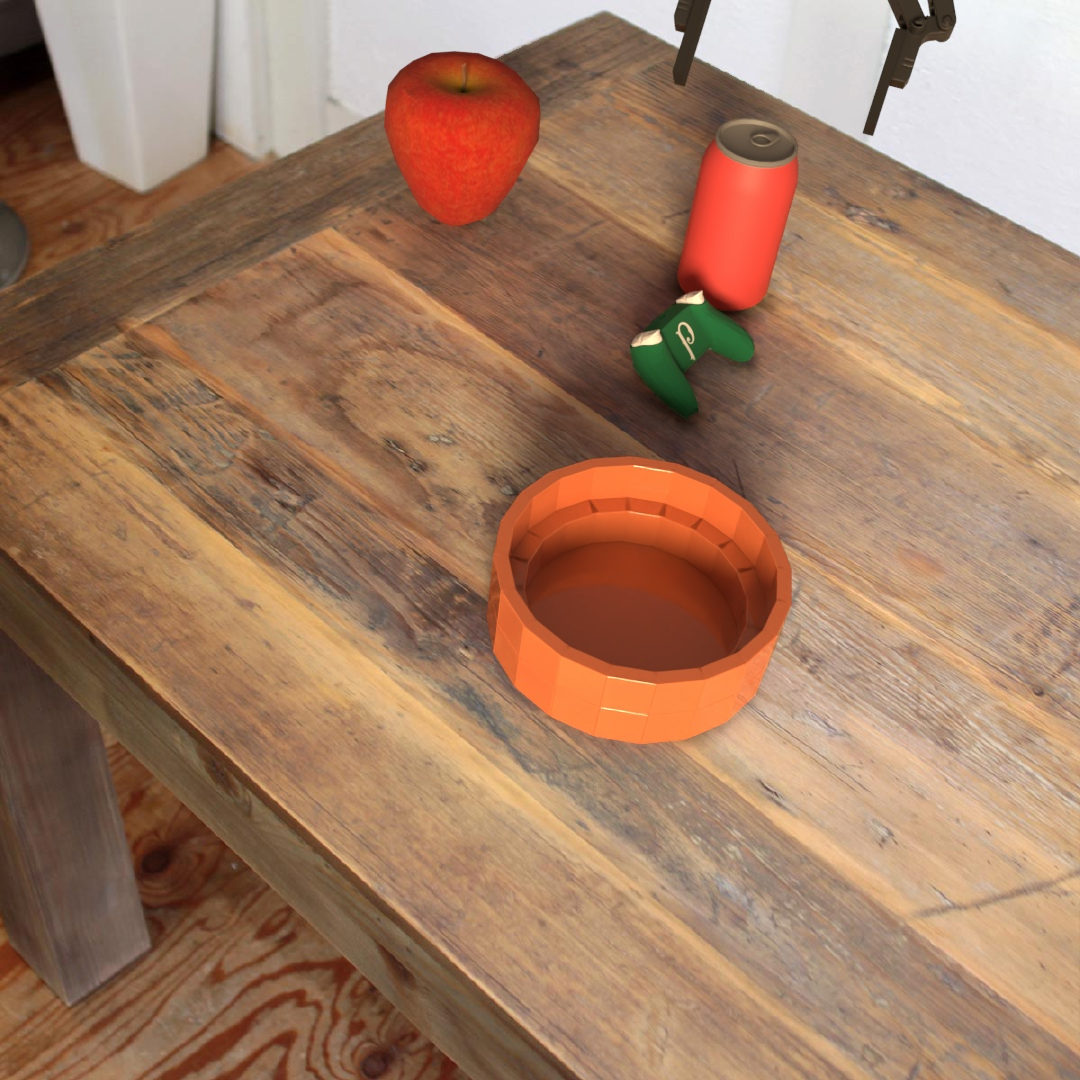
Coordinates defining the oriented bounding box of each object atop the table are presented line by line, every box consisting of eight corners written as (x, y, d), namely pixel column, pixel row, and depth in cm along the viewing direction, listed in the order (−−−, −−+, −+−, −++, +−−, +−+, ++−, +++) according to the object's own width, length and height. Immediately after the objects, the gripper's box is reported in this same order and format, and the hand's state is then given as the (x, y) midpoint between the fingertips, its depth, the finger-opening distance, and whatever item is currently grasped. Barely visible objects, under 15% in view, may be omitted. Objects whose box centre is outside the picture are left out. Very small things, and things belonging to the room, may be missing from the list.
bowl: (768, 552, 79) (792, 481, 75) (763, 774, 69) (791, 707, 64) (508, 509, 79) (517, 436, 75) (465, 724, 69) (472, 654, 64)
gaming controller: (722, 363, 93) (681, 289, 92) (764, 349, 90) (722, 272, 89) (653, 431, 88) (608, 354, 86) (695, 419, 85) (649, 339, 83)
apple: (551, 244, 98) (571, 94, 89) (412, 268, 94) (417, 113, 85) (496, 162, 104) (509, 14, 95) (364, 181, 101) (364, 29, 92)
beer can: (784, 300, 96) (827, 153, 87) (714, 326, 93) (751, 177, 84) (726, 250, 99) (762, 104, 91) (657, 275, 97) (687, 126, 88)
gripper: (1038, -131, 93) (943, 165, 94) (694, -210, 96) (606, 76, 98) (1064, -188, 85) (960, 134, 87) (690, -271, 89) (595, 39, 90)
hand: (772, 104), depth 92 cm, fingers open, 13 cm apart
